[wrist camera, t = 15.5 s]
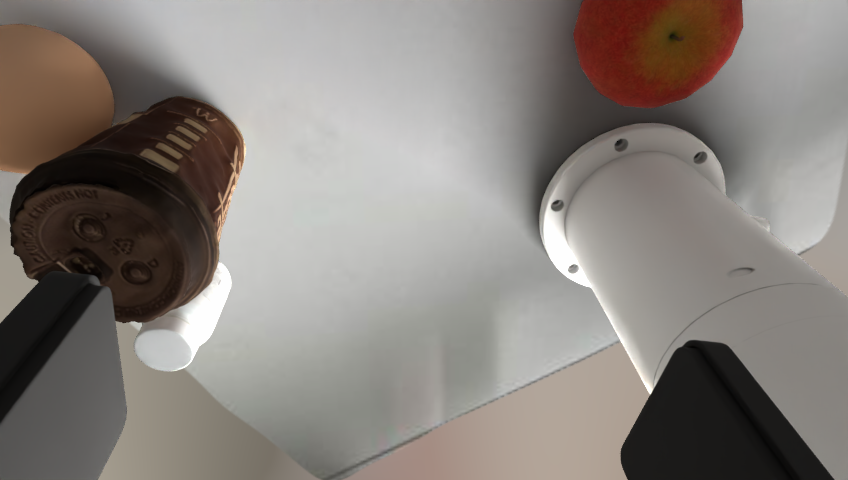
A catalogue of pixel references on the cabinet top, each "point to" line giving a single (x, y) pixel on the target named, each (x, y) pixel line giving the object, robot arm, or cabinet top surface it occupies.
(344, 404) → the cabinet top surface
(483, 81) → the cabinet top surface
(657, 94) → the apple
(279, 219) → the cabinet top surface
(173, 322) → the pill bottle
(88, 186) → the coffee cup
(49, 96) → the egg
